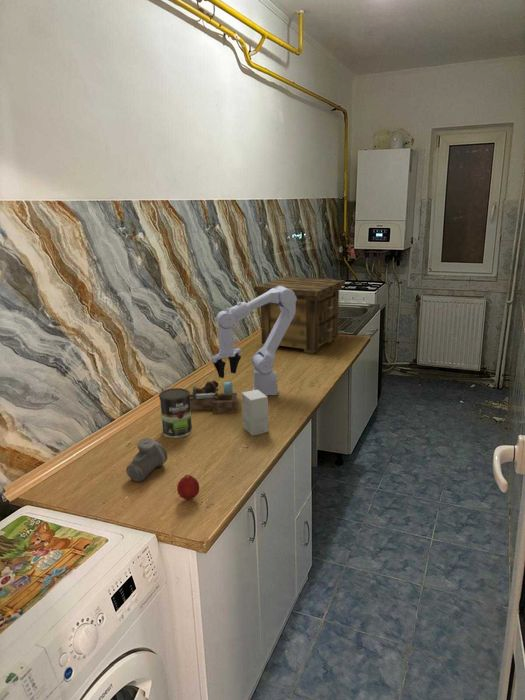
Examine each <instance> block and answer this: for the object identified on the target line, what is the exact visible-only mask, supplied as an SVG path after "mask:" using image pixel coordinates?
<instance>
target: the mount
mask: <svg viewBox="0 0 525 700" xmlns="http://www.w3.org/2000/svg"><path fill="white" fill-rule="evenodd" d="M214 393H215V396H213V398H203V399H196V400H194V399H193V394H192V393H190V409H191V411H193V410H194V411H195V410H212V413H215V414H216V413H217V414H218V413H236V412H238V393H237V392H233V393H224V392H222V393H219V392H214Z"/></svg>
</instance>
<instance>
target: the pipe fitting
mask: <svg viewBox="0 0 525 700" xmlns="http://www.w3.org/2000/svg"><path fill="white" fill-rule="evenodd" d="M136 444H137V449H138V452H137V453H136V454H135V455H134V456H133V458H132V461H131V462H130V463H129V464H128V465H127V466H126V469H125V470H126V474H127V477H129V479H130V480H132V481H133V482H136V481H137V482H136V483H140V482H142V481H144V479H146V478H147V476H148V475H149V474H150V473H151V472H152V471H153V470H154V469H155V468H159V467H162V466H163V465H164V464H165V463H166V462H167V460H168V452H167V450H166V449H165V447H164V446H163V445H162V444H161V443H160V442H157V441H155V439H153V438H150V437H149V438H148V437H147V438H146V437H145V438H142V439H139V440H138V442H137V443H136Z"/></svg>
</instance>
